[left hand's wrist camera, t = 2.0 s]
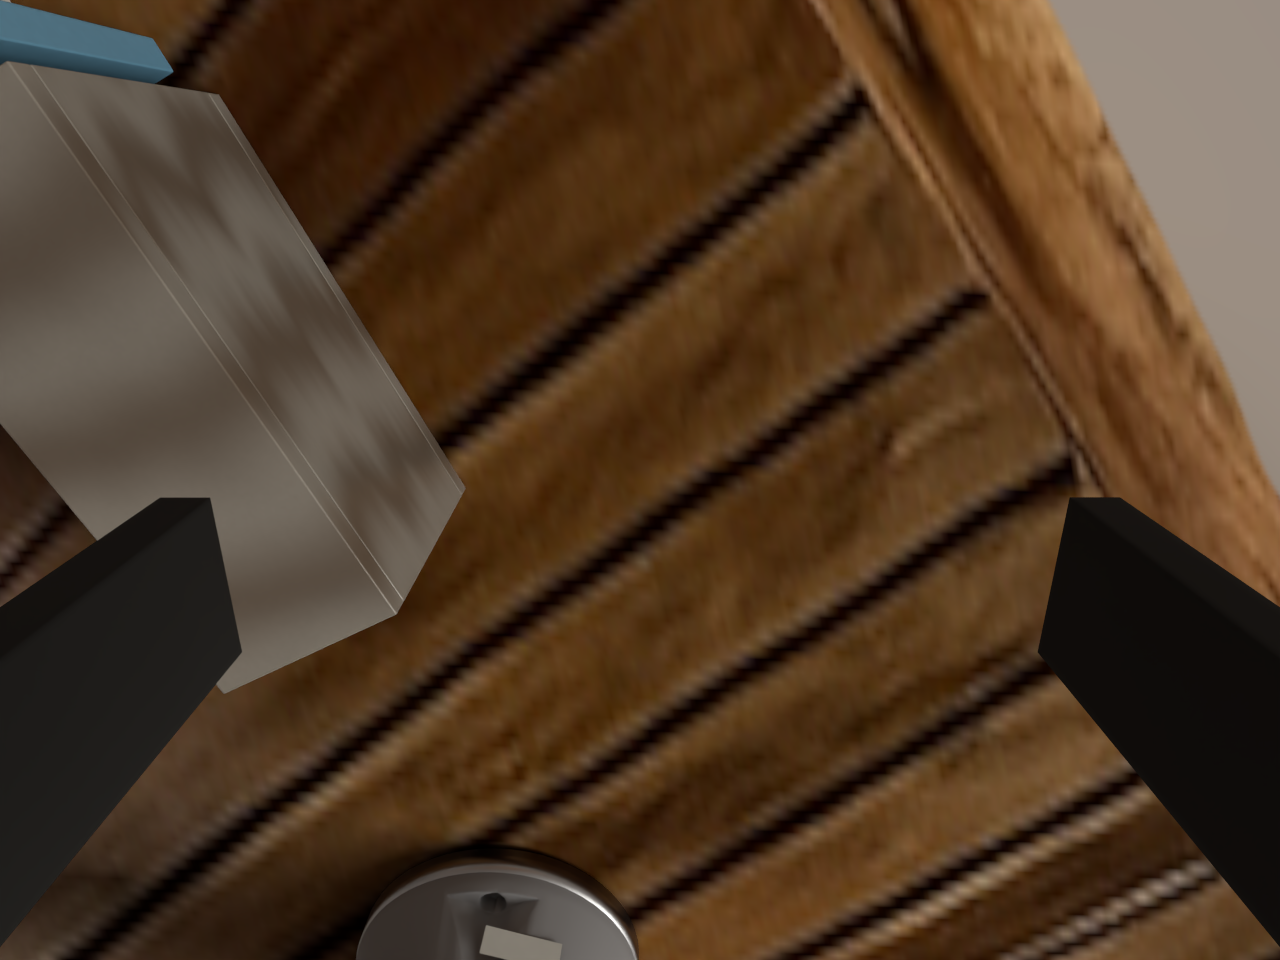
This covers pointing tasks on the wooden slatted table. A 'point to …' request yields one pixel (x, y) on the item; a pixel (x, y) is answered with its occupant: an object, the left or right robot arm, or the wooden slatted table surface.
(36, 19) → the drawer
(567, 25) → the wooden slatted table surface
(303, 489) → the cabinet
